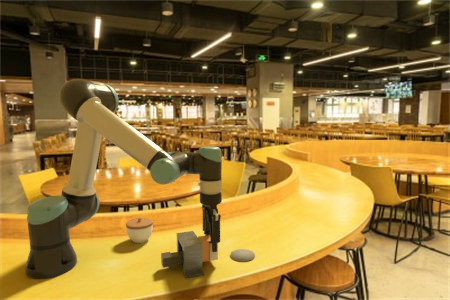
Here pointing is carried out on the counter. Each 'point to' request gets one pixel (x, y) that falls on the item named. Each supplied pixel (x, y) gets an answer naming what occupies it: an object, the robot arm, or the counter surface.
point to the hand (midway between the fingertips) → (211, 255)
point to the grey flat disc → (242, 255)
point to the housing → (190, 254)
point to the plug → (177, 257)
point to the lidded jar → (139, 229)
